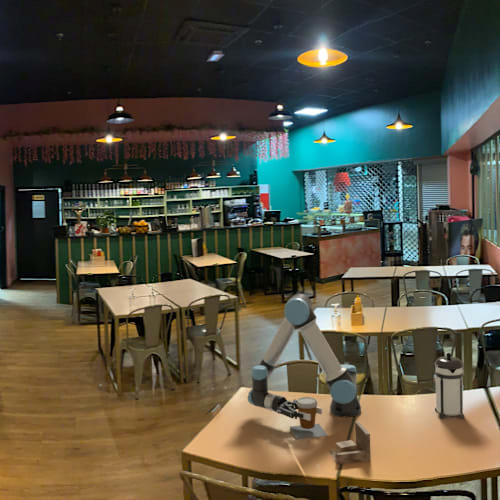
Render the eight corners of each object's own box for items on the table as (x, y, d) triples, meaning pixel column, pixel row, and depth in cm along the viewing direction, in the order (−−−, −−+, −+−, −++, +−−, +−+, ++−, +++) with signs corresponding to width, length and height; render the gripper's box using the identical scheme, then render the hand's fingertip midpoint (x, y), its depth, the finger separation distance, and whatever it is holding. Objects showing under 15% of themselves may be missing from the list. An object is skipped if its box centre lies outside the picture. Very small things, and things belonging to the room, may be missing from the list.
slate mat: (319, 425, 257) (319, 423, 257) (327, 437, 243) (327, 435, 243) (289, 428, 255) (289, 426, 255) (296, 440, 241) (296, 439, 241)
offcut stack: (354, 451, 226) (354, 439, 225) (359, 458, 220) (359, 445, 219) (335, 453, 225) (334, 441, 224) (339, 460, 219) (339, 448, 218)
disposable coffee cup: (320, 423, 251) (319, 397, 250) (315, 431, 242) (315, 405, 241) (299, 420, 255) (299, 395, 253) (294, 429, 246) (293, 403, 244)
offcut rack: (359, 449, 230) (359, 421, 229) (370, 463, 217) (370, 434, 216) (328, 452, 228) (327, 424, 227) (337, 467, 216) (336, 437, 214)
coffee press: (474, 414, 261) (473, 352, 258) (453, 423, 252) (452, 359, 249) (443, 404, 275) (442, 345, 273) (422, 412, 266) (421, 351, 264)
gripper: (289, 404, 268) (329, 415, 253) (262, 417, 252) (302, 430, 237) (289, 389, 267) (328, 399, 252) (261, 402, 252) (301, 413, 237)
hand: (315, 414), depth 245 cm, fingers closed on disposable coffee cup, 8 cm apart
